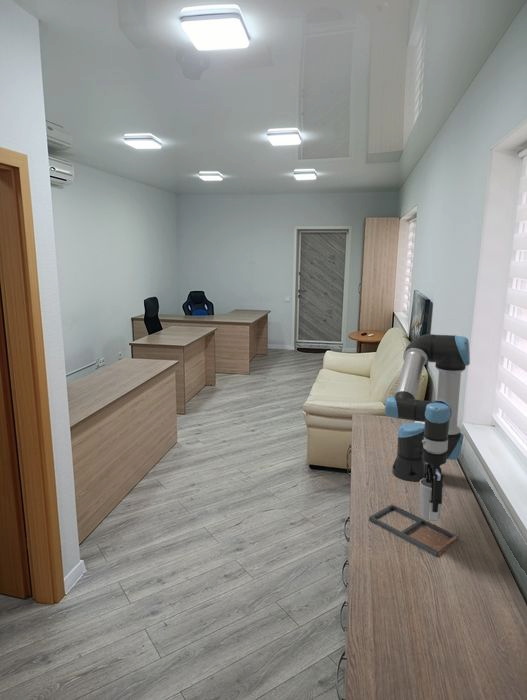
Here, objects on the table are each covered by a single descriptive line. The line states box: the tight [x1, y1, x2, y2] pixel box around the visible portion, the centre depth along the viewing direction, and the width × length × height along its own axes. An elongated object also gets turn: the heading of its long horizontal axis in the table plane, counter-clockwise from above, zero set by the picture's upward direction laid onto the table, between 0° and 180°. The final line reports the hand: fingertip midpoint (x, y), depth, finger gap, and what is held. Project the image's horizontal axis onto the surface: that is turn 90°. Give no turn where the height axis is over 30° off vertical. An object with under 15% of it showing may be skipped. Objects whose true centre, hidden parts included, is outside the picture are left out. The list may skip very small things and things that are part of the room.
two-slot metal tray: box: [368, 504, 460, 557], centre depth 159 cm, size 27×14×2 cm, turn 39°
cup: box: [419, 478, 446, 522], centre depth 152 cm, size 8×8×12 cm
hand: (430, 512), depth 153 cm, fingers closed on cup, 7 cm apart
